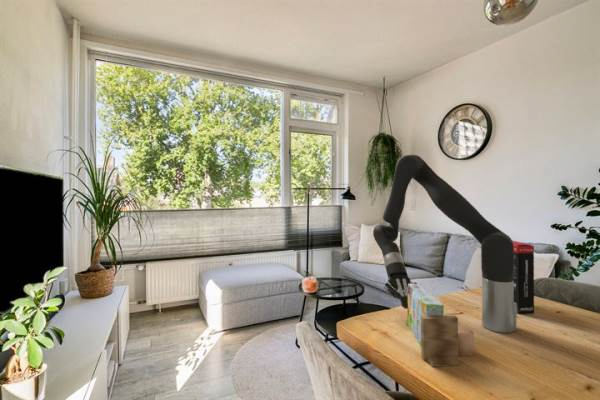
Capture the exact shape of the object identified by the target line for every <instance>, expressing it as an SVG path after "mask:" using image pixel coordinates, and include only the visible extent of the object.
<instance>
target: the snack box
mask: <svg viewBox="0 0 600 400" xmlns="http://www.w3.org/2000/svg"><path fill="white" fill-rule="evenodd" d="M407 289H408V290H407V291H408V309H407V318H406V319H407V325H408V327H409V329H410V330H411V332H412V333H413V335H414V338H416V340H417V341H418V344H419V345H420V346H421V317H428V316H444V309H445V308H444V304H443V303H442V302H441V301H440V300H439V299H438V298H437V297H436V296H434V294H433V293H431V292H430V291H429V289H427V287H425V286H424V285H423V283H417V284H408V288H407Z"/></svg>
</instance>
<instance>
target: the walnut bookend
mask: <svg viewBox="0 0 600 400" xmlns="http://www.w3.org/2000/svg"><path fill="white" fill-rule="evenodd" d="M458 327H459V317H457V316H456V315H443V316H428V317H421V345H420V347H421V349H420V350H421V352H420V353H421V359H422V360H423V362H424V361H427V362H428V364H430V366H431V367H455V366H461V365H462V363H461V361H460V360H459V354H458Z"/></svg>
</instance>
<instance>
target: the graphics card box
mask: <svg viewBox="0 0 600 400" xmlns="http://www.w3.org/2000/svg"><path fill="white" fill-rule="evenodd" d="M512 241H513V245H514V302H516V304H517V315H518V314H520V315H521V314H523V315H524V314H525V315H526V314H528V315H529V314H535V247H534V245H532V244H527V243H524V242H519V241H515V240H512Z"/></svg>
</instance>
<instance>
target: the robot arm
mask: <svg viewBox="0 0 600 400" xmlns="http://www.w3.org/2000/svg"><path fill="white" fill-rule="evenodd" d="M412 180H414V181H416V183H418V184H419V185H421V187H422V188H423V189H424V190H425V191H426V193H427V195H428V196H429V198H430V199H431V201H432V203H433V204H434V206H435V207H436V208H437V209H438V210H439V211H441V213H443V214H444V215H445V216H446V217H448V219H449V220H451V221H452V222H454V223H455V224H457V225H459V226H460V227H462V228H464V229H465V230H466V231H467V232H468V233H470V234H471V235H472V236H473V237H474V238H475V239H476V241H477V242H478V243H479V244H480V245H481V247H480V250H481V251H480V253H481V254H480V257H481V265H480V267H481V286H482V287H481V293H482V294H481V301H482V303H481V313H482V314H481V315H482V316H481V322H482V323H481V324H482V326H483V327H484V328H485V329H487V330H489V331H493V332H496V333H501V334H510V333H513V332H514V331H517V315H518V313H517V304H516V302H514V245H513V241H514V240H513V239H512V238H511V237H510V236H509V235H508V234H506V233H505V232H504V231H502V230H500V229H499V228H497V227H496V226H495V225H494V224H492V223H491V222H490V221H488V220H487V219H486V218H485V217H484V216H483V215H482V214H481V213H480V212H479V210H478V209H476V207H474V205H472V204H471V202H470V201H468V199H466V198H465V197H464V196H463V194H461V193H460V192H459V191H458V190H456V189H455V188H454V187H453V186H452V185H450V184H449V183H448V182H447V181H445V180H444V179H443V178H442V177H440V176H439V175H438V174H437V173H436V172H435V171H434V170H433V169H432V168H431V167H430V166H429V165H428V163H426V161H425V160H424V159H423V158H422V157H420V156H419V155H417V154H407V155H403V156H401V157H399V159H398V160H397V161H396V164H395V168H394V175H393V180H392V184H391V190H390V194H389V197H388V201H387V204H386V206H385V209H384V212H383V215H382V219H383V221H384V222H386V223H388V224H389V225H385V224H378V225H376V226H374V228H373V231H372V232H373V233H372V234H373V235H372V236H373V240H374V241H375V242H376V244H377V245H378V248H380V249H379V250H381V253H382V257H383V263H384V268H385V272H386V274H387V279H388V280H387V282H386V283H385V284H384V286H383V288H384V289H385V291H387V292H388V293H389V294H390V295H392V296H393V297H394V298H398V299H399V300H400V305H401V307H402V308H403V309H405V310H406V309H407V310H408V284H418V283H417V282H413V281H412V280H411V279H410V277H409V276H408V273H407V271H408V270H407V267H406V266H405V262H404V259H403V257H402V254H401V253H400V252H401V251H400V248H399V246H398V244H397V243H396V242H395V241H396V240H397V239H398V237H399V227H400V219H401V217H402V215H403V212H404V209H405V204H406V203H405V202H406V193H407V190H408V187H409V185H410V182H411V181H412Z"/></svg>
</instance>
